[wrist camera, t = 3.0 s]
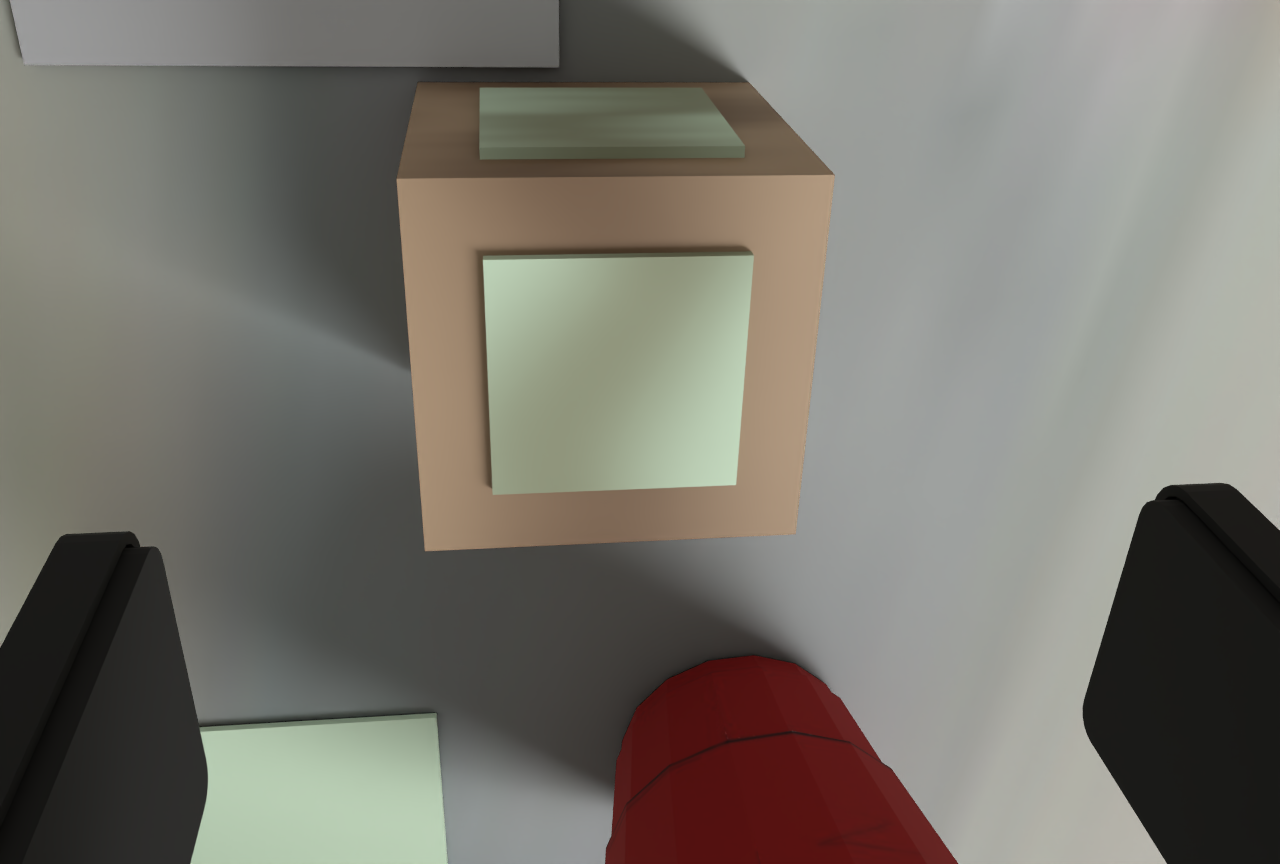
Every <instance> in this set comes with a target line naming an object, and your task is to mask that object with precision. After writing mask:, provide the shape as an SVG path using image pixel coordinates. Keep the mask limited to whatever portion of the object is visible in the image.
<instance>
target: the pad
mask: <svg viewBox="0 0 1280 864" xmlns="http://www.w3.org/2000/svg"><path fill="white" fill-rule="evenodd" d="M199 728H200V733H201V738H202V742H203V747H204V751H205V756H206V761H207V768H208V790H207V799H206V804H205V808H204V812H203V816H202V820H201V824H200V828H199V832H198V836H197V840H196V844H195V848H194V851H193V855H192V859H191V863H190V864H448V859H447V846H446V833H445V820H444V806H443V793H442V780H441V766H440V753H439V740H438V726H437V713H428V714H411V715H395V716H378V717H361V718H345V719H328V720H311V721H295V722H278V723H261V724H245V725H228V726H211V727H199Z"/></svg>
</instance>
